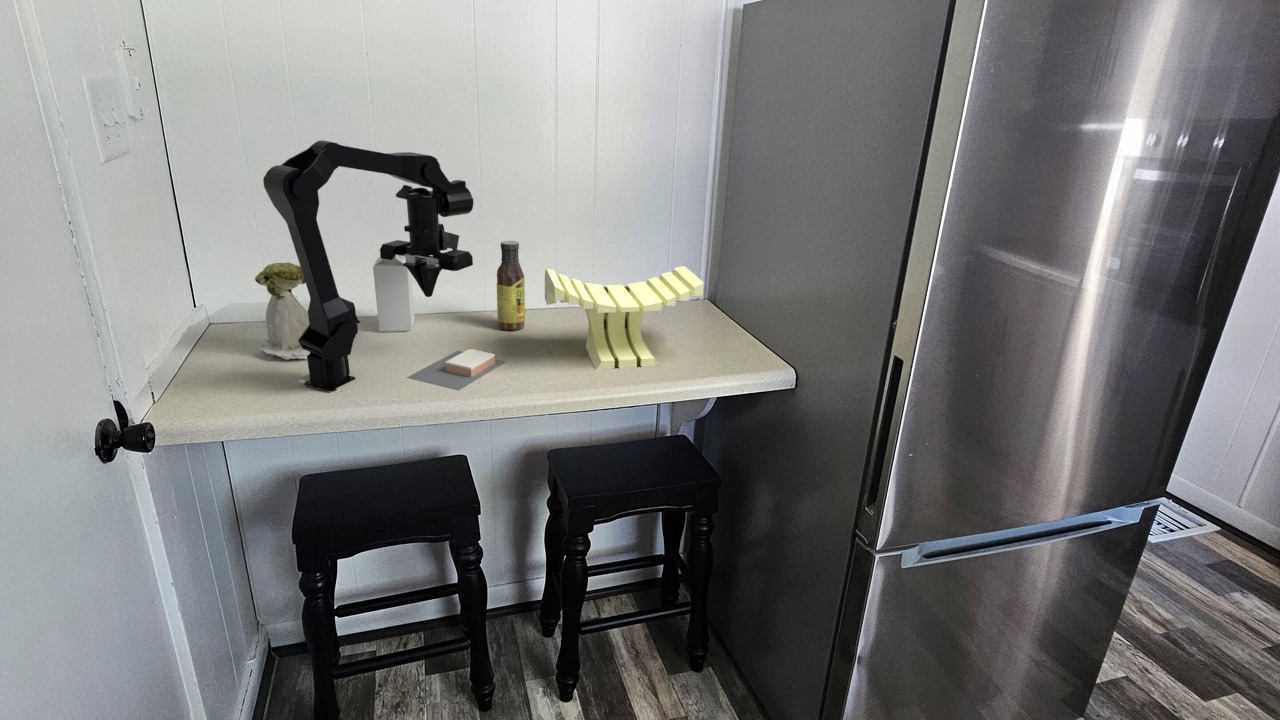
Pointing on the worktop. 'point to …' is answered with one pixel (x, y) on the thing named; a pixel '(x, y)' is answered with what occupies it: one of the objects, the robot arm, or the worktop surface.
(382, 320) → the milk carton
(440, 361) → the mat
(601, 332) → the yellow slatted pedestal stand
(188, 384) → the worktop surface
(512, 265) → the sauce bottle
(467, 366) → the tile
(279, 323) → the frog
